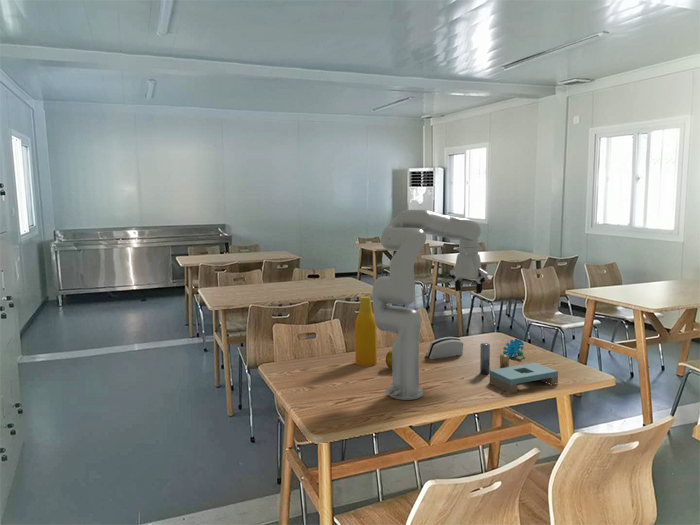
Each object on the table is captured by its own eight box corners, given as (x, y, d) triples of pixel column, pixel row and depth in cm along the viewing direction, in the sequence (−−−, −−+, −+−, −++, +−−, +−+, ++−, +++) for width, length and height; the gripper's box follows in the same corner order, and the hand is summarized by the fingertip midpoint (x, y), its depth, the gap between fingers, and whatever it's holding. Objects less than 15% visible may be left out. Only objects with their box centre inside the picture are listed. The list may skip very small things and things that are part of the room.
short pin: (506, 371, 220) (506, 357, 219) (498, 370, 222) (498, 355, 221) (510, 369, 222) (510, 355, 222) (502, 368, 225) (502, 353, 224)
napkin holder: (456, 351, 250) (460, 333, 245) (462, 357, 246) (466, 339, 241) (424, 356, 243) (428, 337, 239) (429, 362, 239) (433, 343, 235)
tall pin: (486, 375, 216) (487, 345, 214) (478, 373, 218) (478, 344, 217) (491, 373, 218) (491, 344, 217) (482, 371, 221) (483, 342, 219)
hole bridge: (510, 392, 196) (510, 379, 195) (489, 382, 207) (489, 370, 206) (557, 384, 204) (558, 371, 204) (535, 374, 215) (535, 362, 215)
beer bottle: (375, 367, 229) (375, 299, 226) (354, 366, 231) (353, 298, 227) (378, 360, 238) (377, 295, 235) (357, 360, 240) (356, 295, 236)
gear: (498, 350, 245) (513, 334, 245) (505, 358, 247) (520, 342, 247) (512, 360, 234) (527, 343, 235) (519, 368, 237) (535, 351, 237)
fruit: (402, 364, 232) (402, 346, 231) (412, 370, 223) (412, 351, 223) (382, 367, 228) (381, 348, 228) (391, 373, 220) (391, 354, 219)
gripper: (445, 250, 227) (445, 291, 229) (483, 252, 216) (483, 295, 218) (454, 249, 233) (454, 288, 235) (492, 251, 222) (491, 292, 223)
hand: (468, 291), depth 226 cm, fingers open, 9 cm apart
